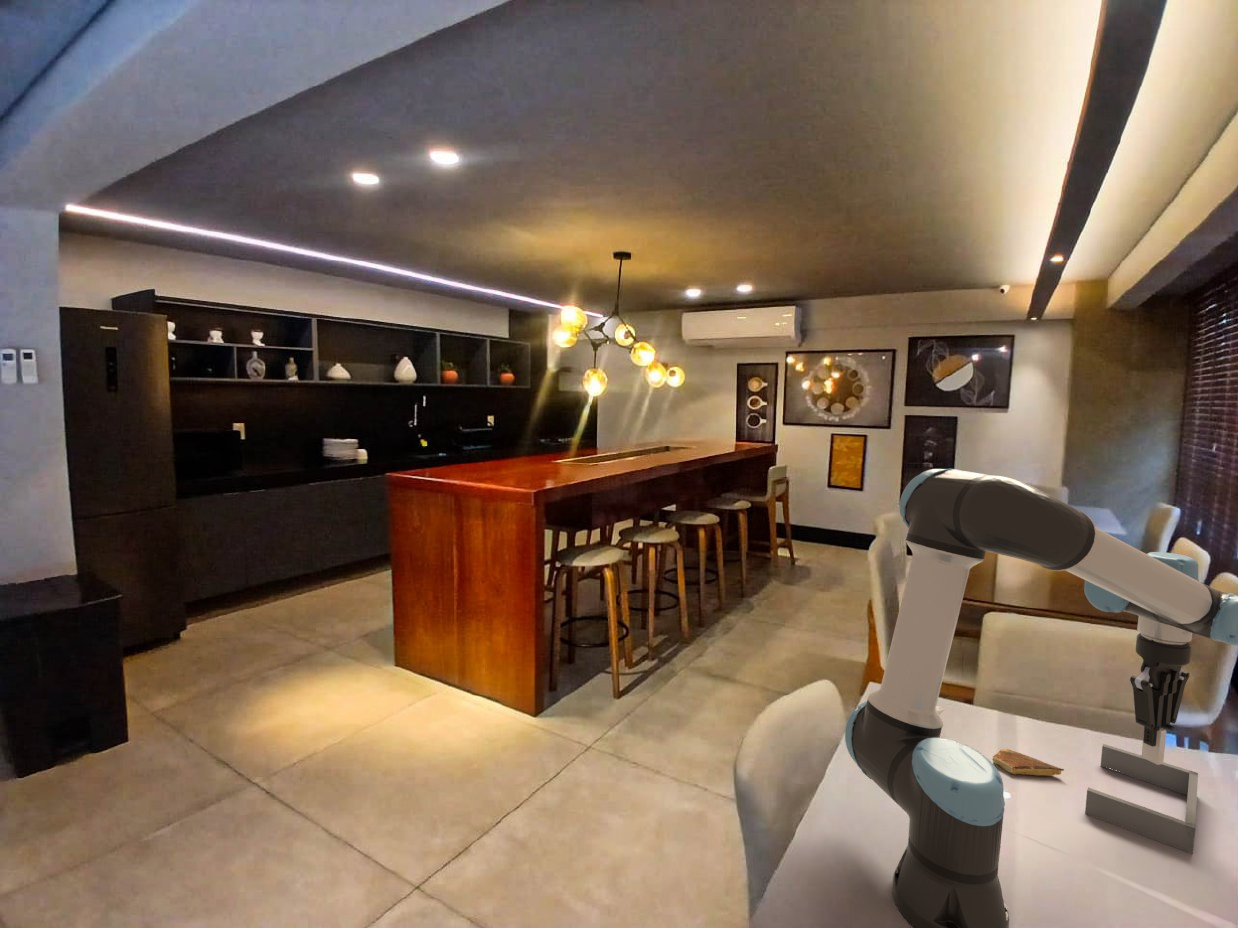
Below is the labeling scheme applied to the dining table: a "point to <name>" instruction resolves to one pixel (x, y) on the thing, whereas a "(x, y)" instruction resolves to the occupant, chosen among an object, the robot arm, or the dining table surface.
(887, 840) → the dining table surface
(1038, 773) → the shard
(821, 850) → the dining table surface
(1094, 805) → the box
